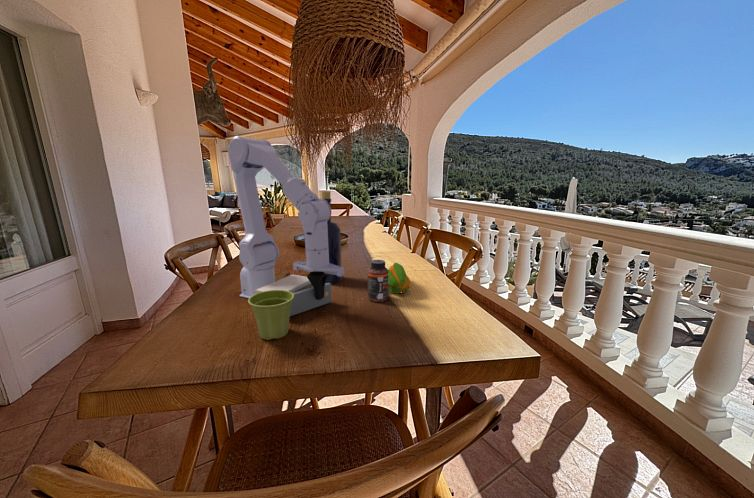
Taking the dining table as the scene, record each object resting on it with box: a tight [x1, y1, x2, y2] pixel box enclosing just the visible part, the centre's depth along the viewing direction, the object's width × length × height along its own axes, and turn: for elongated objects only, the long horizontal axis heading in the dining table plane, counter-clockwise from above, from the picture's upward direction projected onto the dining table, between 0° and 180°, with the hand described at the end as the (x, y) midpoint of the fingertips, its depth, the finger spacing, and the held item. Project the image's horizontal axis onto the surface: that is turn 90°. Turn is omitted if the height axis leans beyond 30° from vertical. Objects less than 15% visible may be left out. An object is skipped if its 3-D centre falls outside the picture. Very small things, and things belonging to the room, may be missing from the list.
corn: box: [387, 262, 411, 294], centre depth 95 cm, size 7×8×20 cm
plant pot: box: [247, 290, 294, 341], centre depth 65 cm, size 9×9×9 cm
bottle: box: [321, 190, 343, 285], centre depth 98 cm, size 9×9×30 cm
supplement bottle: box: [367, 259, 389, 303], centre depth 84 cm, size 6×6×11 cm
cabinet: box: [256, 274, 313, 294], centre depth 81 cm, size 8×14×6 cm, turn 156°
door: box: [290, 283, 333, 317], centre depth 77 cm, size 2×15×5 cm, turn 135°
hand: (319, 298), depth 78 cm, fingers closed
